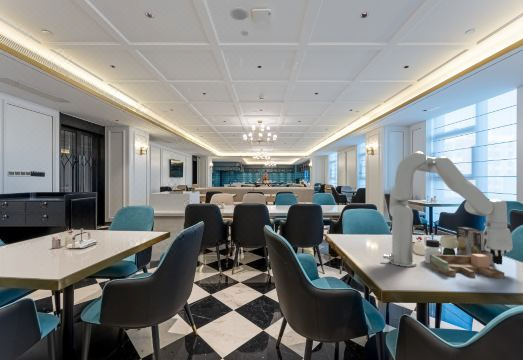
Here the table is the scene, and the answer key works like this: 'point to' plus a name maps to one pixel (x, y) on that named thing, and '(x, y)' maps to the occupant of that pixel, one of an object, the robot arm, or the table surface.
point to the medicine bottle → (431, 249)
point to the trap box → (461, 266)
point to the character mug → (449, 244)
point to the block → (480, 260)
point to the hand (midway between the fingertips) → (497, 263)
